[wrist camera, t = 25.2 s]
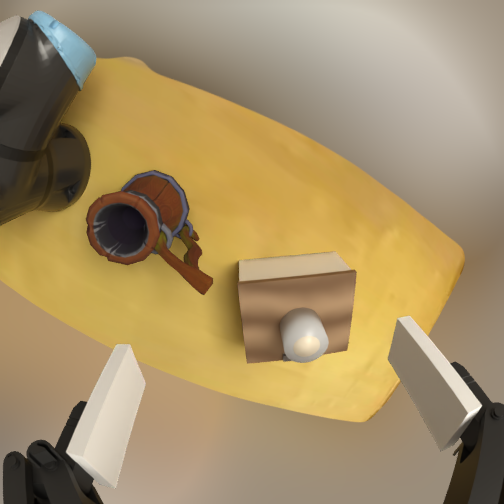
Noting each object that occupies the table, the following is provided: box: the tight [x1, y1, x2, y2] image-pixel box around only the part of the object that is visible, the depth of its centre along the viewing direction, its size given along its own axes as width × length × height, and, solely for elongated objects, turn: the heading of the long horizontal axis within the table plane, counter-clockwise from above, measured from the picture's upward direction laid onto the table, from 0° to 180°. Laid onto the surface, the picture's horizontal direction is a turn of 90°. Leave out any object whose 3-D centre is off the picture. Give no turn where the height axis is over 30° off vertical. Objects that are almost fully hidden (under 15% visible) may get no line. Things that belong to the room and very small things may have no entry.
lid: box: [238, 270, 356, 363], centre depth 40 cm, size 14×16×1 cm
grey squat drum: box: [280, 307, 329, 363], centre depth 38 cm, size 6×6×5 cm
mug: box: [86, 170, 213, 295], centre depth 36 cm, size 18×12×15 cm, turn 53°
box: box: [239, 252, 351, 281], centre depth 45 cm, size 14×16×8 cm
